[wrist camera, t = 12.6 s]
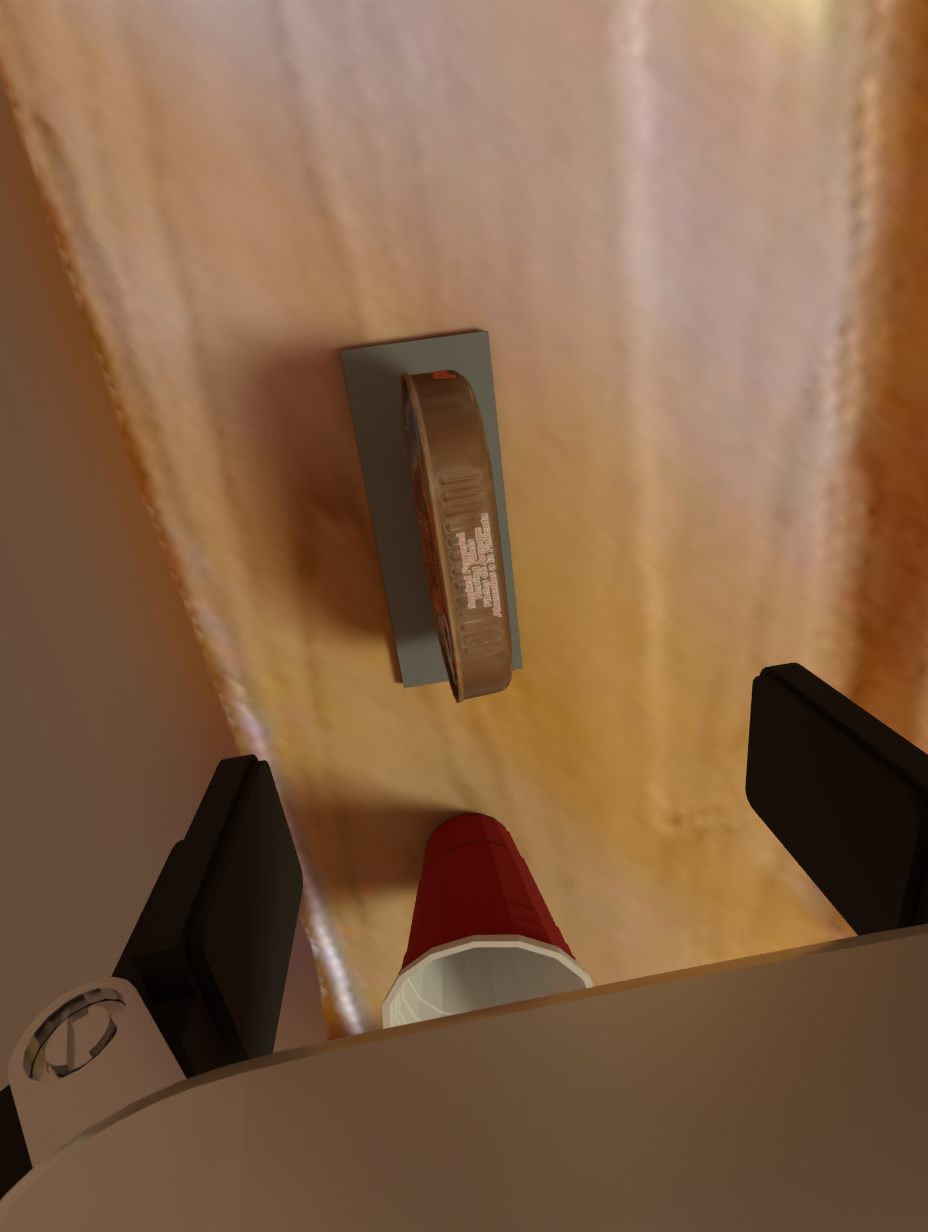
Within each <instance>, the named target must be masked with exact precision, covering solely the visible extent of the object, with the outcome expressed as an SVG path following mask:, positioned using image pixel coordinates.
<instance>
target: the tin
mask: <svg viewBox="0 0 928 1232" xmlns="http://www.w3.org/2000/svg"><path fill="white" fill-rule="evenodd" d="M400 387H401V411H402V421H403V429H404V436H405V443H406V447H407V455H408V463H409V469H410V475H411V481H412V487H413V494H414V499H415V506H416V512H417V518H418V524H419V530H420V537H421V543H422V549H423V555H424V562H425V568H426V574H427V580H428V586H429V592H430V598H431V603H432V608H433V613H434V619H435V624H436V629H437V634H438V639H439V643H440V647H441V652H442V656H443V659H444V664H445V668H446V671H447V674H448V678H449V682H450V686H451V689H452V692H453V696H454V697H455V700H456V702H457V703H460V702H462V701H463V700H465V699H469V698H474V697H479V696H483V695H488V694H493V693H496V692H499V691H502V690H505V689H506V688H507V687H508V686H509V684H510V681H511V677H512V643H511V631H510V623H509V612H508V602H507V593H506V583H505V574H504V565H503V557H502V548H501V538H500V530H499V523H498V514H497V506H496V498H495V490H494V482H493V473H492V466H491V460H490V454H489V448H488V442H487V437H486V433H485V428H484V423H483V420H482V416H481V412H480V408H479V405H478V402H477V399H476V397H475V394H474V392H473V389H472V387H471V385H470V383H469V382H468V380H467V379H466V378H465V377H464V376H462V375H461V374H459V373H458V372H457V371H455V370H441V371H435V372H429V373H422V374H414V375H409V374H408V373H402V374H401V381H400Z"/></svg>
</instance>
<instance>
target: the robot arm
mask: <svg viewBox="0 0 928 1232" xmlns="http://www.w3.org/2000/svg"><path fill="white" fill-rule="evenodd" d="M745 789H746V796H747V799H748V801H749V803H750V805H751V807H752V808H753V810H754V811H755V812H756V813H757V814H758V816H759V817H760V818H761V819H762V820H763V822H764V823H765V824H766V825H767V826H768V828H769V829H770V830H771V831H772V832H773V834H774V835H775V836H776V837H777V838H778V840H779V841H780V842H781V843H782V844H783V846H784V847H785V848H786V849H787V850H788V852H789V853H790V854H791V855H792V856H793V858H794V859H795V860H796V861H797V862H798V864H799V865H800V866H801V867H802V868H803V870H804V871H805V872H806V873H807V875H808V876H809V877H810V878H811V879H812V881H813V882H814V883H815V884H816V885H817V887H818V888H819V889H820V890H821V891H822V893H823V894H824V895H825V896H826V897H827V899H828V900H829V901H830V902H831V903H832V905H833V906H834V907H835V908H836V909H837V911H838V912H839V913H840V914H841V915H842V917H843V918H844V919H845V920H846V921H847V923H848V924H849V925H850V926H851V927H852V929H853V930H854V931H855V932H856V933H857V935H858V936H855V937H850V938H845V939H839V940H834V941H829V942H823V943H818V944H813V945H808V946H802V947H797V948H792V949H786V950H781V951H776V952H770V953H765V954H760V955H755V956H749V957H744V958H739V959H733V960H728V961H723V962H718V963H713V964H708V965H702V966H697V967H692V968H687V969H682V970H677V971H672V972H666V973H661V974H656V975H651V976H646V977H641V978H636V979H630V980H625V981H620V982H615V983H610V984H605V985H600V986H595V987H590V988H585V989H579V990H574V991H569V992H564V993H559V994H554V995H549V996H544V997H539V998H534V999H529V1000H524V1001H519V1002H514V1003H509V1004H504V1005H499V1006H494V1007H489V1008H484V1009H479V1010H474V1011H469V1012H464V1013H459V1014H454V1015H449V1016H444V1017H440V1018H435V1019H430V1020H425V1021H420V1022H415V1023H410V1024H405V1025H400V1026H395V1027H390V1028H385V1029H380V1030H376V1031H371V1032H366V1033H362V1034H357V1035H353V1036H348V1037H344V1038H339V1039H335V1040H330V1041H326V1042H322V1043H317V1044H312V1045H307V1046H303V1047H299V1048H294V1049H289V1050H285V1051H280V1052H276V1053H272V1052H273V1048H274V1042H275V1037H276V1031H277V1026H278V1020H279V1015H280V1009H281V1004H282V998H283V993H284V987H285V982H286V977H287V971H288V965H289V960H290V955H291V949H292V943H293V938H294V933H295V927H296V922H297V916H298V911H299V905H300V900H301V894H302V888H303V876H302V870H301V866H300V863H299V860H298V856H297V853H296V850H295V847H294V844H293V840H292V837H291V834H290V831H289V827H288V824H287V821H286V818H285V815H284V811H283V808H282V805H281V802H280V798H279V795H278V792H277V789H276V786H275V782H274V779H273V776H272V773H271V770H270V767H269V764H268V762H267V761H266V760H263V761H258V759H257V757H256V756H255V755H253V754H251V755H245V756H239V757H234V758H228V759H223V760H221V761H220V763H219V764H218V766H217V769H216V771H215V773H214V775H213V777H212V780H211V782H210V784H209V786H208V788H207V790H206V793H205V795H204V797H203V799H202V801H201V803H200V806H199V808H198V810H197V813H196V814H195V817H194V819H193V821H192V823H191V825H190V828H189V830H188V832H187V834H186V836H185V838H184V840H181V841H179V842H178V843H176V844H175V846H174V847H173V849H172V850H171V852H170V855H169V856H168V859H167V861H166V863H165V865H164V867H163V869H162V871H161V874H160V876H159V877H158V880H157V882H156V884H155V886H154V888H153V890H152V892H151V894H150V897H149V898H148V901H147V903H146V905H145V907H144V909H143V911H142V913H141V915H140V917H139V920H138V922H137V924H136V926H135V928H134V930H133V932H132V934H131V936H130V939H129V941H128V943H127V945H126V947H125V949H124V951H123V953H122V955H121V957H120V959H119V962H118V964H117V966H116V968H115V970H114V972H113V974H112V976H111V977H108V978H100V979H96V980H93V981H91V982H88V983H85V984H83V985H80V986H78V987H76V988H75V989H73V990H71V991H70V992H68V993H66V994H64V995H63V996H61V997H60V998H58V999H57V1000H56V1001H55V1002H53V1003H52V1004H51V1005H50V1006H49V1007H47V1008H46V1009H45V1010H44V1011H42V1013H41V1014H40V1015H39V1016H38V1017H37V1018H36V1019H35V1020H34V1021H33V1022H32V1023H31V1025H30V1026H29V1027H28V1028H27V1029H26V1031H25V1032H24V1034H23V1035H22V1037H21V1039H20V1040H19V1042H18V1043H17V1045H16V1046H15V1048H14V1051H13V1054H12V1057H11V1060H10V1063H9V1083H10V1084H9V1085H8V1086H7V1087H5V1088H4V1089H3V1090H2V1091H0V1232H928V755H927V754H926V753H924V752H923V751H922V750H920V749H919V748H917V747H916V746H915V745H913V744H912V743H910V742H909V741H907V740H906V739H905V738H903V737H902V736H900V735H899V734H898V733H896V732H895V731H893V730H892V729H891V728H889V727H888V726H886V725H885V724H883V723H882V722H881V721H879V720H878V719H876V718H875V717H874V716H872V715H871V714H869V713H868V712H866V711H865V710H864V709H862V708H861V707H859V706H858V705H857V704H855V703H854V702H852V701H851V700H849V699H848V698H847V697H845V696H844V695H842V694H841V693H840V692H838V691H837V690H835V689H834V688H832V687H831V686H830V685H828V684H827V683H825V682H824V681H823V680H821V679H820V678H818V677H817V676H815V675H814V674H813V673H811V672H810V671H808V670H807V669H806V668H804V667H803V666H801V665H800V664H798V663H788V664H782V665H776V666H770V667H765V668H764V669H762V671H761V673H760V676H757V677H755V679H754V680H753V686H752V700H751V715H750V729H749V743H748V757H747V772H746V786H745Z"/></svg>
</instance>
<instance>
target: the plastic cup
mask: <svg viewBox="0 0 928 1232" xmlns="http://www.w3.org/2000/svg"><path fill="white" fill-rule="evenodd" d="M590 987H594V986H593V984H592V981H591V979H590V977H589V975H588V973H587V971H586V969H585V968H584V967H583V966H582V965H581V964H579V963H578V962H577V961H576V959H575V957H574V956H573V955H572V953H571V951H570V949H569V946H568V944H566V943H565V941H564V939H563V936H562V934H561V932H560V930H559V928H558V927H557V926H556V925H555V923H554V921H553V918H552V916H551V914H550V912H549V910H548V908H547V906H546V904H545V902H544V900H543V898H542V896H541V893H540V891H539V889H538V887H537V885H536V883H535V881H534V879H533V877H532V875H531V873H530V871H529V869H528V866H527V864H526V862H525V860H524V859H523V858H522V857H521V856H520V854H519V851H518V849H517V847H516V845H515V843H514V841H513V839H512V837H511V835H510V833H509V832H508V831H507V830H506V828H505V827H504V826H503V825H502V824H501V823H499V822H498V821H497V820H496V819H494V818H492V817H489V816H485V815H482V814H462V815H459V816H457V817H454V818H452V819H449V820H446V821H445V822H444V823H443V824H442V825H440V826H439V827H438V828H437V829H436V830H434V832H433V834H432V836H431V838H430V840H429V842H428V845H427V848H426V850H425V856H424V863H423V870H422V877H421V879H420V881H419V885H418V891H417V897H416V902H415V908H414V914H413V919H412V925H411V931H410V936H409V942H408V948H407V952H406V954H405V956H404V960H403V964H402V968H401V970H400V972H399V974H398V977H397V978H396V980H395V982H394V984H393V985H392V987H391V989H390V990H389V992H388V994H387V996H386V997H385V1000H384V1002H383V1005H382V1013H383V1029H385V1028H390V1027H395V1026H400V1025H405V1024H410V1023H415V1022H420V1021H425V1020H430V1019H435V1018H440V1017H444V1016H449V1015H454V1014H459V1013H464V1012H469V1011H474V1010H479V1009H484V1008H489V1007H494V1006H499V1005H504V1004H509V1003H514V1002H519V1001H524V1000H529V999H534V998H539V997H544V996H549V995H554V994H559V993H564V992H569V991H574V990H579V989H585V988H590Z"/></svg>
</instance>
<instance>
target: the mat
mask: <svg viewBox="0 0 928 1232" xmlns="http://www.w3.org/2000/svg"><path fill="white" fill-rule="evenodd" d="M340 354H341V359H342V365H343V370H344V375H345V380H346V386H347V391H348V396H349V401H350V407H351V412H352V417H353V422H354V428H355V433H356V438H357V443H358V449H359V454H360V459H361V464H362V469H363V475H364V480H365V485H366V490H367V496H368V501H369V506H370V511H371V517H372V522H373V527H374V532H375V538H376V543H377V548H378V553H379V559H380V564H381V569H382V574H383V579H384V585H385V590H386V595H387V600H388V606H389V611H390V616H391V621H392V627H393V632H394V637H395V642H396V648H397V653H398V658H399V663H400V669H401V674H402V679H403V684H404V688H407V687H413V686H419V685H425V684H431V683H437V682H443V681H449V678H448V674H447V671H446V668H445V664H444V659H443V656H442V652H441V647H440V643H439V639H438V634H437V629H436V624H435V619H434V613H433V608H432V603H431V598H430V592H429V586H428V580H427V574H426V568H425V562H424V555H423V549H422V543H421V537H420V530H419V524H418V518H417V512H416V506H415V499H414V494H413V487H412V481H411V475H410V469H409V463H408V455H407V447H406V443H405V436H404V429H403V421H402V411H401V387H400V381H401V374H402V373H408V374H409V375H414V374H422V373H429V372H435V371H441V370H455V371H457V372H458V373H459V374H461V375H462V376H464V377H465V378H466V379H467V380H468V382H469V383H470V385H471V387H472V389H473V392H474V394H475V397H476V399H477V402H478V405H479V408H480V412H481V416H482V420H483V423H484V428H485V433H486V437H487V442H488V448H489V454H490V460H491V466H492V473H493V482H494V490H495V498H496V506H497V514H498V523H499V530H500V538H501V548H502V557H503V565H504V574H505V583H506V593H507V602H508V612H509V623H510V631H511V643H512V670H516V669H522V658H521V649H520V639H519V629H518V619H517V610H516V600H515V590H514V580H513V571H512V561H511V551H510V541H509V531H508V522H507V512H506V502H505V492H504V483H503V473H502V463H501V453H500V444H499V434H498V424H497V414H496V405H495V395H494V385H493V375H492V365H491V356H490V346H489V336H488V331H482V332H475V333H467V334H460V335H453V336H445V337H438V338H431V339H423V340H416V341H409V342H401V343H394V344H387V345H379V346H372V347H364V348H357V349H350V350H342V351H340Z"/></svg>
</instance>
